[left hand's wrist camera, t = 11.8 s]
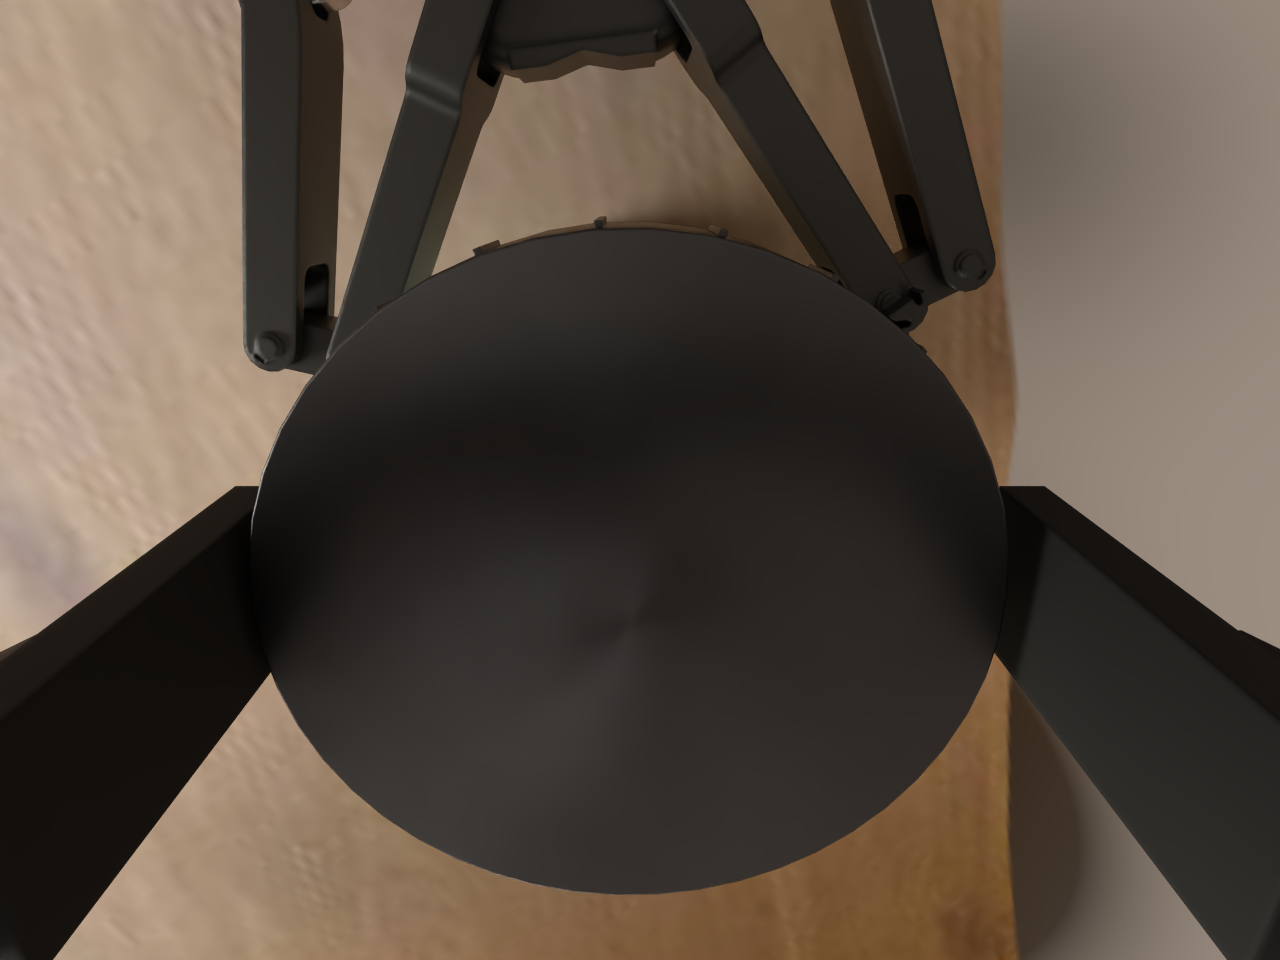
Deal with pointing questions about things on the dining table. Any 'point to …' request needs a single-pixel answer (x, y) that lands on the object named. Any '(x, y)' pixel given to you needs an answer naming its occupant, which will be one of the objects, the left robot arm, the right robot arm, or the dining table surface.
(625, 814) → the lid
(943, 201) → the right robot arm
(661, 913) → the dining table surface
